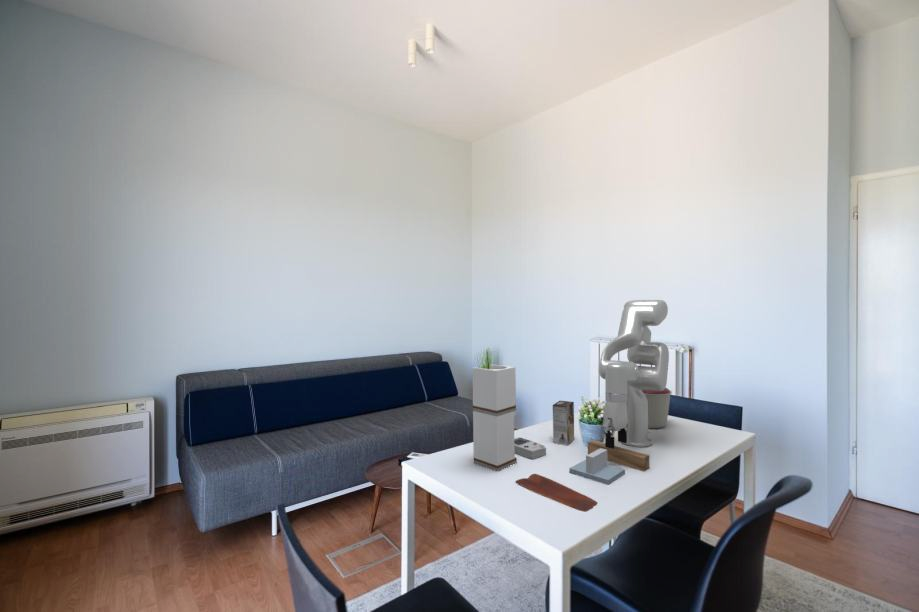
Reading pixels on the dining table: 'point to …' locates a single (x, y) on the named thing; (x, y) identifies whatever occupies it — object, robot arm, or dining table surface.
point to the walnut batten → (622, 456)
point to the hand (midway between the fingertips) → (616, 444)
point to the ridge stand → (597, 468)
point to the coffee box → (563, 422)
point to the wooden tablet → (557, 492)
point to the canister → (657, 407)
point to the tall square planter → (494, 416)
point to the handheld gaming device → (528, 448)
